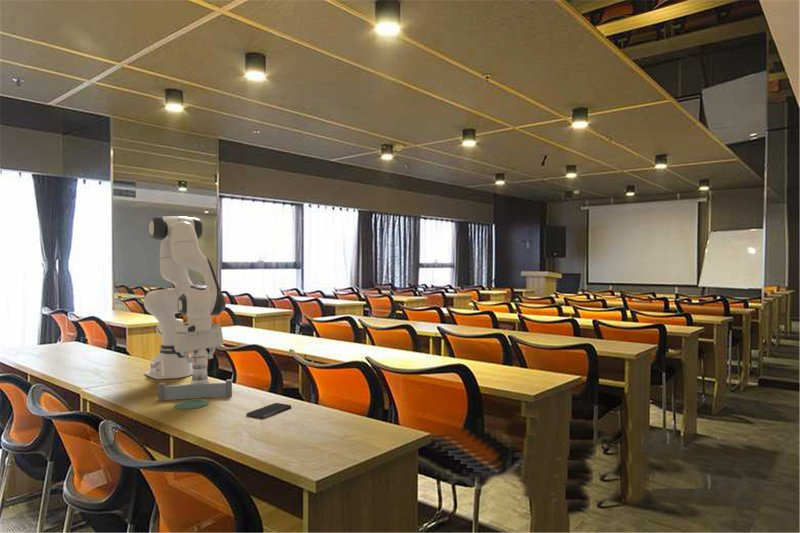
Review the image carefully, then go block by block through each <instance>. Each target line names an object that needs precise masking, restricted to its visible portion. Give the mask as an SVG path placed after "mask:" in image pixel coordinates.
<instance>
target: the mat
mask: <svg viewBox="0 0 800 533" xmlns="http://www.w3.org/2000/svg"><path fill="white" fill-rule="evenodd" d="M207 405H208V401H207V400H205V399H188V400H184V401H180V402H177V403H175V404H174V408H175V409H178V410H194V409H199V408H204V407H206V406H207Z"/></svg>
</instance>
